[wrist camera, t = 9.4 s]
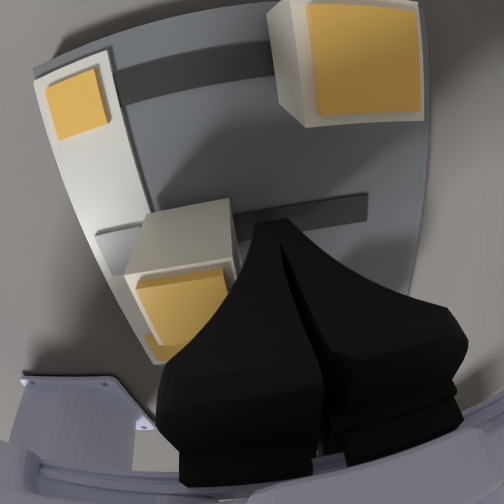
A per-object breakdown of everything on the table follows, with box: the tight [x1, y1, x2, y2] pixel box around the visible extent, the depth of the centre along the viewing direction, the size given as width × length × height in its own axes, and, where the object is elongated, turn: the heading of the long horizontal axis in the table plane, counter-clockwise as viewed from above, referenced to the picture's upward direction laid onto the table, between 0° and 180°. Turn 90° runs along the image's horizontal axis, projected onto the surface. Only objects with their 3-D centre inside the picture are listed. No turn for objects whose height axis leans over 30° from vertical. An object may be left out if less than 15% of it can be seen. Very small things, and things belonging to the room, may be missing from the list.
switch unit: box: [33, 1, 430, 367], centre depth 13 cm, size 14×16×2 cm
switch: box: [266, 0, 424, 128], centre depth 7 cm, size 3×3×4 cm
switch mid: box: [124, 198, 242, 346], centre depth 10 cm, size 3×3×4 cm
